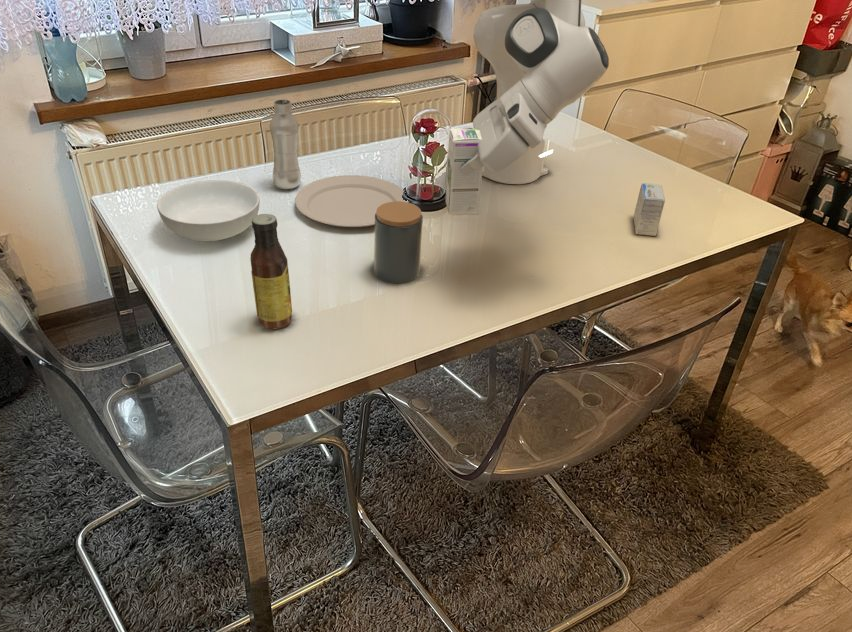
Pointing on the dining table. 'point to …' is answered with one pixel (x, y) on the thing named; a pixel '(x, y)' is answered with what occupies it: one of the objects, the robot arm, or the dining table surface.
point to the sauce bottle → (270, 274)
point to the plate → (346, 199)
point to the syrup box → (459, 186)
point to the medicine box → (648, 209)
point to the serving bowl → (209, 209)
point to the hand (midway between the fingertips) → (461, 163)
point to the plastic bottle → (285, 146)
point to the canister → (397, 242)
